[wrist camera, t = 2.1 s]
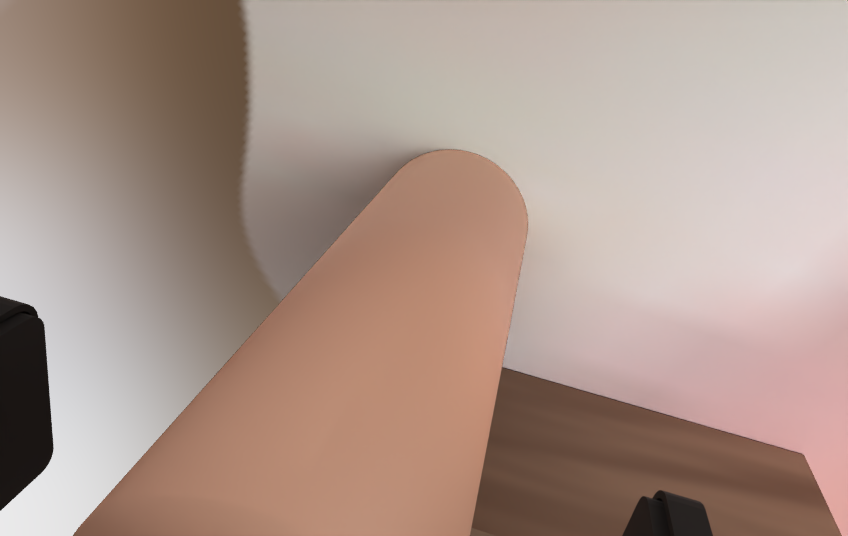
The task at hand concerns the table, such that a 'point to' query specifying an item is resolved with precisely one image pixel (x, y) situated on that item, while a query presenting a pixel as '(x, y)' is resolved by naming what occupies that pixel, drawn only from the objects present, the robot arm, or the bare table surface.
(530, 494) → the bore box
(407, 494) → the peg
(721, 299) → the table surface
